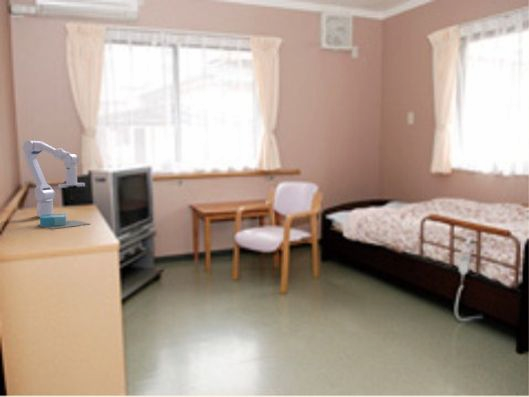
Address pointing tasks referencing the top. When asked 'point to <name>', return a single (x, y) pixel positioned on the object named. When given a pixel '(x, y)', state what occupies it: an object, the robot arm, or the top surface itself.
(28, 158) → the robot arm
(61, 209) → the top surface
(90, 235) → the top surface
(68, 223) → the mat
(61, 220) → the blue square block
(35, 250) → the top surface
